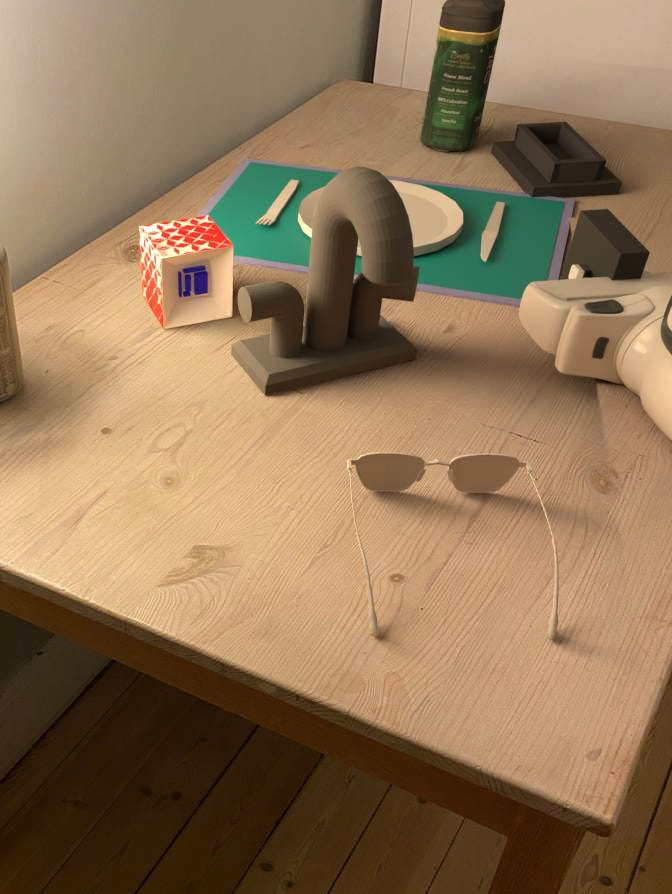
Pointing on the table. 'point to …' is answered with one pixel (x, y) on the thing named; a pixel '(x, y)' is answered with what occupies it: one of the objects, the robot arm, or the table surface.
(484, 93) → the coffee jar
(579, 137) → the base pad
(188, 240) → the patterned open box
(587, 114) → the table surface
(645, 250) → the upright pad
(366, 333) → the faucet
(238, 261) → the place mat
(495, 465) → the eyeglasses
